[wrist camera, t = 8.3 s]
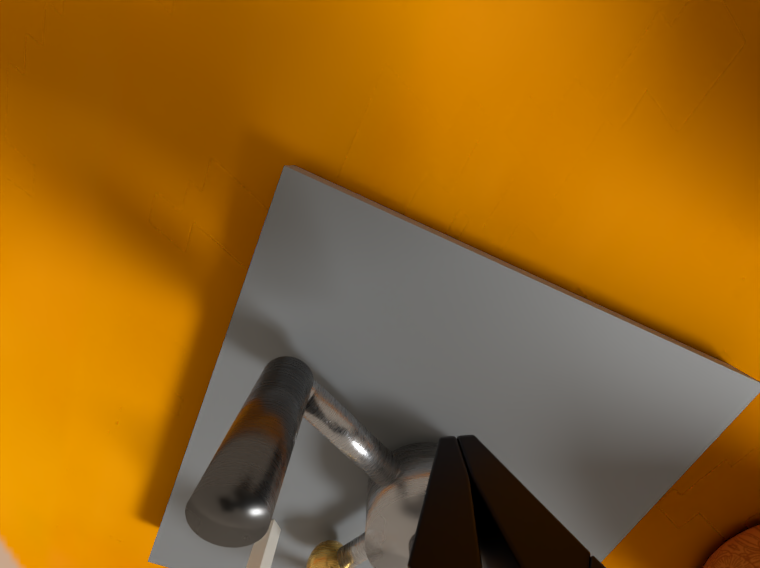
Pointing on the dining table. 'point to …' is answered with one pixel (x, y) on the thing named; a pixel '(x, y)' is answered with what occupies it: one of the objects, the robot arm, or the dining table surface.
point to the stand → (445, 378)
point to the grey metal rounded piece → (270, 461)
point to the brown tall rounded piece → (738, 551)
